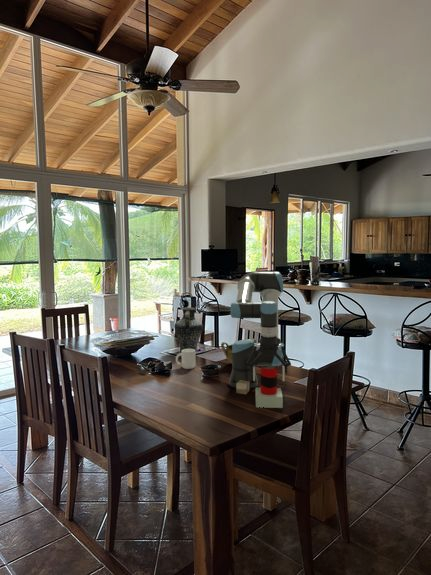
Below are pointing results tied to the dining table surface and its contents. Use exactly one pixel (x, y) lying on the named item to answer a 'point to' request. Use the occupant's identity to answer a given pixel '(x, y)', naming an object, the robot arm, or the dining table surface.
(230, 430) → the dining table surface
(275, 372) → the soda can
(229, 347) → the olive yellow teapot
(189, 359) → the mug
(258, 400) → the green block
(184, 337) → the jug
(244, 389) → the maple cube
